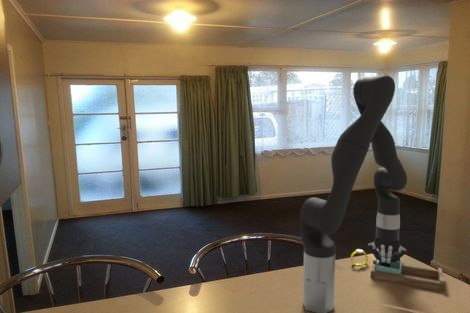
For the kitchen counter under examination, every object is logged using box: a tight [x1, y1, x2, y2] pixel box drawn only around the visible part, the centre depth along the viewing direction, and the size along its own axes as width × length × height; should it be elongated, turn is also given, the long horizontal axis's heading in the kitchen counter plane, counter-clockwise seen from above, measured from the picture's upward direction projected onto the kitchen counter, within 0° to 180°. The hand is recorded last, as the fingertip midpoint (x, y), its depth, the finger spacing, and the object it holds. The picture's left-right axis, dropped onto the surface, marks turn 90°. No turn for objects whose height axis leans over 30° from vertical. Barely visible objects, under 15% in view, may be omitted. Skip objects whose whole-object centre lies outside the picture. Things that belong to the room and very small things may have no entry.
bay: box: [370, 259, 445, 292], centre depth 122 cm, size 10×22×4 cm, turn 64°
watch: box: [350, 248, 369, 267], centre depth 133 cm, size 6×3×6 cm, turn 86°
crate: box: [375, 259, 403, 275], centre depth 124 cm, size 7×8×4 cm
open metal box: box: [375, 247, 401, 262], centre depth 133 cm, size 8×8×6 cm
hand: (385, 271), depth 125 cm, fingers closed
